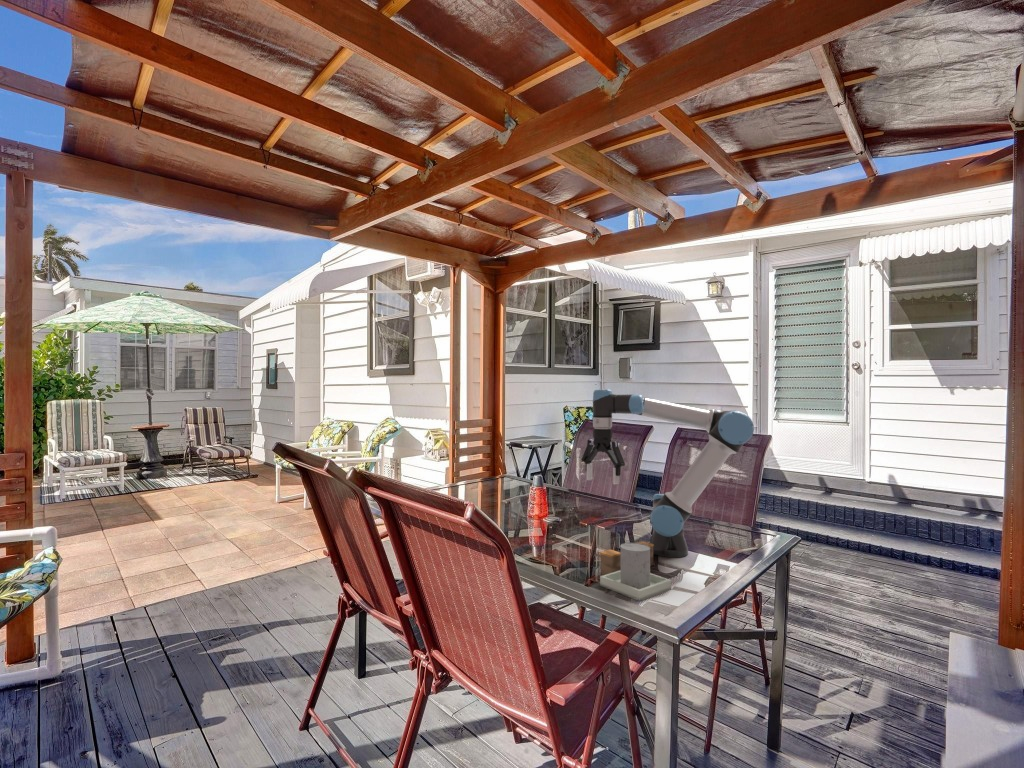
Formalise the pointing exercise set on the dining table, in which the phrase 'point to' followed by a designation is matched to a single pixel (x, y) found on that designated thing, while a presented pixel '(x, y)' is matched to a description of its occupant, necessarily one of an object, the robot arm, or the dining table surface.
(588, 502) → the dining table surface
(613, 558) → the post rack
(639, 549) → the grey cylinder
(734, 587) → the dining table surface
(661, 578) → the tray
